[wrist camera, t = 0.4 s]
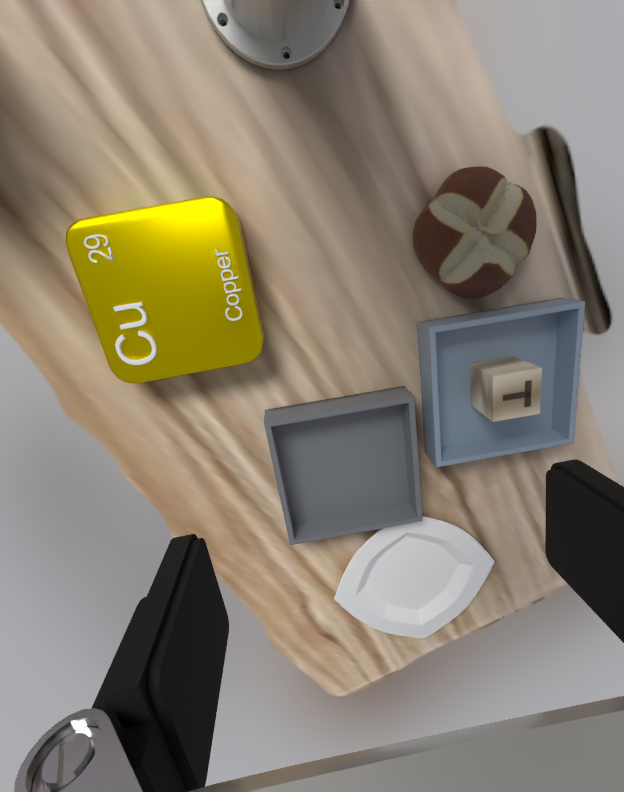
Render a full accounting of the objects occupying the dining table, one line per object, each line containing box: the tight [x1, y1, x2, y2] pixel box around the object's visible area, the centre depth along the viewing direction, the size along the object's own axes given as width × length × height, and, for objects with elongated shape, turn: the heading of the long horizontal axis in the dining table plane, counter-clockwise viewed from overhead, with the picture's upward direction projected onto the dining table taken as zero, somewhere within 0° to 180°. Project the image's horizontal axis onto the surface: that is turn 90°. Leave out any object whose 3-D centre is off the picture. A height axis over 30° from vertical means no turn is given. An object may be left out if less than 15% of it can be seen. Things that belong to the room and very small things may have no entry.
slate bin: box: [417, 298, 585, 467], centre depth 43 cm, size 16×16×4 cm
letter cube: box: [470, 356, 542, 422], centre depth 42 cm, size 5×5×5 cm
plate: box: [334, 516, 495, 639], centre depth 53 cm, size 19×19×2 cm
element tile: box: [66, 197, 264, 383], centre depth 37 cm, size 15×15×5 cm
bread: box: [413, 167, 536, 298], centre depth 37 cm, size 11×11×5 cm
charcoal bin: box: [264, 386, 423, 545], centre depth 45 cm, size 16×16×4 cm
